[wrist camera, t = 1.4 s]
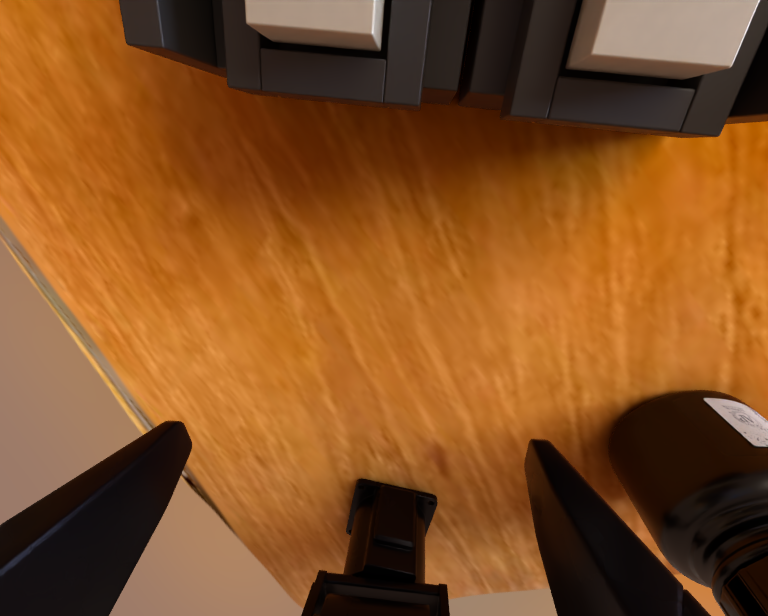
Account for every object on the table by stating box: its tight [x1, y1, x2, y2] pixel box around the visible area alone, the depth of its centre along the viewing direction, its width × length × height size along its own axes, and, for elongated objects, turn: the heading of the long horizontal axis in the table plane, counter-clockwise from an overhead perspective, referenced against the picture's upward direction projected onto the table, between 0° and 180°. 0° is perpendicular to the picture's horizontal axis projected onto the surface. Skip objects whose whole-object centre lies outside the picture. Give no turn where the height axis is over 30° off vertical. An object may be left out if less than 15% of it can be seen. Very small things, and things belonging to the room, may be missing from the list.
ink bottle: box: [609, 390, 768, 616], centre depth 19 cm, size 10×9×12 cm
